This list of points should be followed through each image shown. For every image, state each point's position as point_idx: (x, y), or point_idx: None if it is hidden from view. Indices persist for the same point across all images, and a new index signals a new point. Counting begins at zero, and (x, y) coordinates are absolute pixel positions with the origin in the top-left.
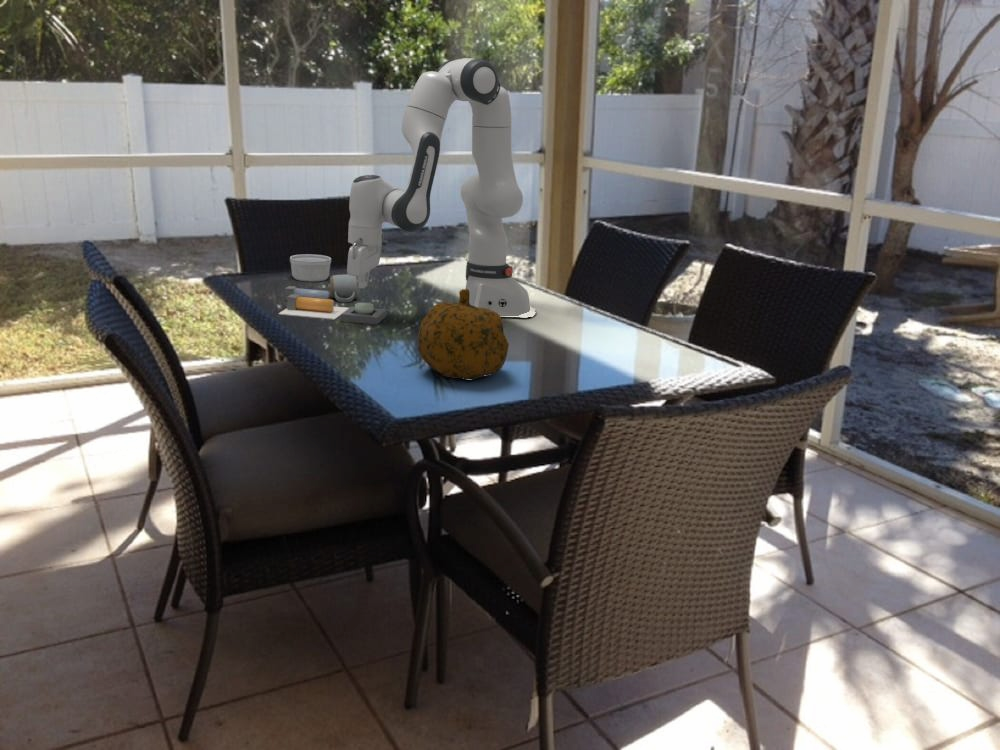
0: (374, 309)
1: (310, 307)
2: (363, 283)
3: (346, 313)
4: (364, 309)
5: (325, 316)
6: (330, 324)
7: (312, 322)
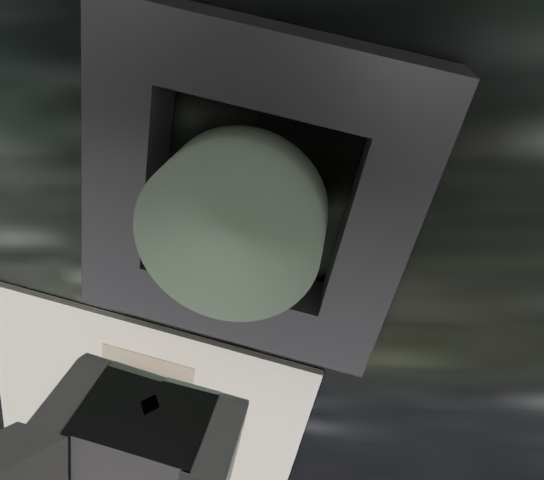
0: (122, 116)
1: None
2: (227, 471)
3: (333, 342)
4: (324, 228)
5: (271, 419)
6: (458, 398)
7: (407, 476)
